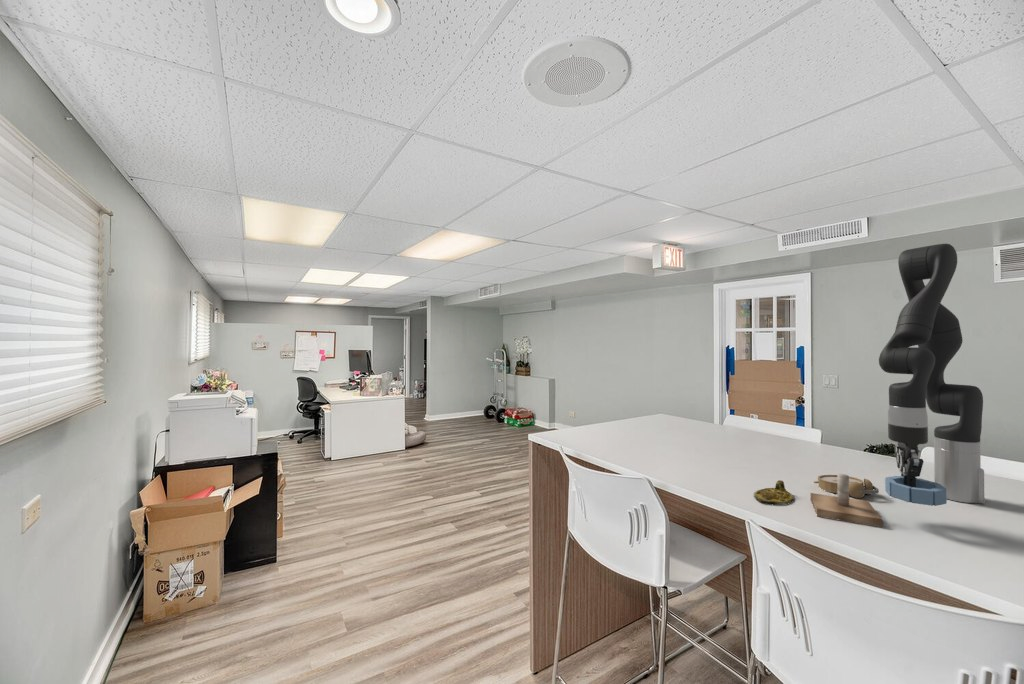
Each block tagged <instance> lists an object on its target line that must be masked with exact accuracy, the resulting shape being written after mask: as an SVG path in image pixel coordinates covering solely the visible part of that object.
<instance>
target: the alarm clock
mask: <svg viewBox="0 0 1024 684" xmlns="http://www.w3.org/2000/svg"><path fill="white" fill-rule="evenodd" d="M813 483H814V484H818V488H819V487H820V488H821V490H822V489H823V490H822V491H824V490H825V492H829V493H833V494H837V495H838V483H837V474H821V475H818V476H817V481H813ZM879 491H880V490H879V488H878V487H877V486H874V484H873V483H872V482H871V481H870V480H869V479H868V478H863V479H861V478H857V477H853V476H849V497H851V498H854V497H855V498H854V499H860V498H861V499H862V498H863V497H864V496H865V494H867V495H866V496H870V495H876V494H879Z"/></svg>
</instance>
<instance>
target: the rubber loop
mask: <svg viewBox="0 0 1024 684" xmlns="http://www.w3.org/2000/svg"><path fill="white" fill-rule="evenodd" d="M884 480H885V481H884V483H885V492H886V494H888V496H889V497H892V498H895V499H897V500H901V501H903V502H907V503H911V504H916V505H917V504H918V505H924V506H925V505H926V506H930V507H932V506H933V507H936V506H941V505H942V506H943V505H947V500H948V499H947V498H946V488H944V487H943V486H942V485H941V484H938V483H935V481H931V480H927V479H924V478H920V477H916V488H915V487H909V486H906V485H904V477H903V476H901V475H893V476H887V477H885V478H884Z"/></svg>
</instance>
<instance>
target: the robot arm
mask: <svg viewBox="0 0 1024 684" xmlns="http://www.w3.org/2000/svg"><path fill="white" fill-rule="evenodd" d="M957 254H958V253H957V251H956V248H955V247H954V246H953V245H952V244H950V243H938V244H933V245H931V244H930V245H927V246H921V247H915V248H908V249H905V250H903V251H901V252H900V254H899V256H898V259H897V260H898V262H897V263H898V270H899V274H900V277H901V281H902V283H903V284H902V285H903V287H904V290H905V293H906V296H907V299H908V302H907V303H906V304H905V305H904V306H903V308H902V309H901V311H900V312H899V315H898V318H897V321H896V326H895V330H894V333H893V335H892V336H891V337H890V339H889V340H888V341H887V343H886V345H885V346H884V347H883V349H882V350H881V352H880V354H879V357H878V364H879V367H880V368H881V370H882V371H884V373H888V374H895V375H896V374H897V375H898V374H899V375H912V378H911V379H910V380H909V381H906V382H905V381H903V382H896V383H891V384H890V385H889V387H888V409H887V430H888V431H887V434H888V435H887V436H888V439H889V440H890V441H893V442H895V443H896V442H897V446H894V448H893V451H894V454H895V455H894V456H895V460H896V466H897V468H898V470H899V472H900V474H901V475H900V476H903V477H904V485H906V486H909V487H915V488H916V478H920V476H921V473H922V470H923V465H924V459H923V458H921V454H922V453H921V450H919V445H925V444H928V443H929V432H928V431H929V428H928V427H929V423H928V422H929V421H928V411H927V407H928V409H929V410H930V411H931V412H933V413H935V414H939V415H947V416H954V417H959V420H958V422H956V423H954V424H947V425H939V426H937V427H934V430H933V434H934V435H933V441H934V443H933V444H934V445H933V446H934V448H933V453H934V458H933V459H934V461H933V462H934V464H933V465H934V466H933V467H934V477H933V478H934V482H935V483H938V484H941V485H942V486H943V487H944V488H946V498H947V500H951V501H955V502H960V503H968V504H985V469H983V468H982V467H981V466H982V465H981V460H982V459H981V458H982V457H981V456H982V455H981V435H982V429H983V426H982V423H983V421H982V420H983V409H984V396H983V393H982V391H981V389H980V388H979V387H977V386H975V385H970V384H969V385H968V384H967V385H966V384H957V383H955V384H954V383H946V382H945V378H944V375H945V370H946V368H947V367H948V365H949V363H950V362H951V360H952V359H953V358H954V357H955V356H956V354H957V353H958V352H959V351H960V349H961V347H962V344H963V335H962V334H963V333H962V329H961V324H960V321H959V318H958V317H957V316H956V315H955V314H954V313H953V312H952V311H951V310H950V309H948V308H947V307H946V306H945V305H944V304H942V301H943V299H944V297H945V295H946V292H947V290H948V288H949V286H950V284H951V282H952V279H953V276H954V275H955V272H956V270H957V266H958V255H957ZM924 280H929V281H928V283H927V284H925V282H924ZM915 346H916V347H915ZM917 346H918V347H917Z"/></svg>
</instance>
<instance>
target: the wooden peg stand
mask: <svg viewBox="0 0 1024 684" xmlns="http://www.w3.org/2000/svg"><path fill="white" fill-rule="evenodd" d="M836 475H837V483H838V494H837V495H836V496H835V495H827V494H820V493H814V492H810V502H811V504H813V505H812V507H813V509H815V510H814V512H815V514H817V515H816V516H817V517H818V516H821V517H820V518H824V517H827V518H826V519H830V518H833V519H832V520H836V519H839V520H838V521H842V520H843V521H844V522H848V521H849V523H855V524H861V525H867V526H872V525H873V527H878V526H879V528H882V527H883V526H882V524H883V523H882V522H883V521H882V520H883V519H882V517H881V516H880V515H879V514H878V512H877V511H876V509H875V507H874V506H873V505H872V504H871V503H870V501H868V500H863V499H858V498H850V495H849V477H850V476H849V475H848V474H845V473H837V474H836ZM880 526H881V527H880Z"/></svg>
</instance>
